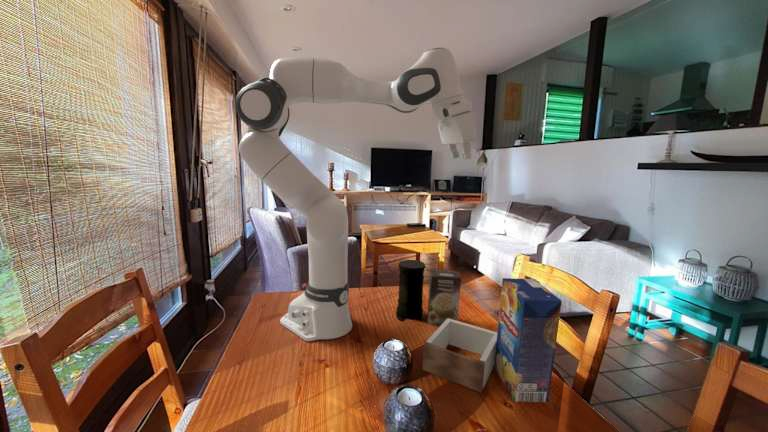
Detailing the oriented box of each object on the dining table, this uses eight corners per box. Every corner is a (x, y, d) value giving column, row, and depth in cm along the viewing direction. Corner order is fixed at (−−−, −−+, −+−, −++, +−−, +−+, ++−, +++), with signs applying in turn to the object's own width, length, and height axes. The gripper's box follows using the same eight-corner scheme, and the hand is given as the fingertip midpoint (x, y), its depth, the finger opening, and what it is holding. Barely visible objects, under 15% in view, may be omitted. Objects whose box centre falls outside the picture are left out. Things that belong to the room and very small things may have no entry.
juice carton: (547, 407, 70) (562, 301, 66) (512, 407, 70) (524, 300, 66) (523, 371, 82) (534, 278, 78) (493, 370, 82) (502, 278, 78)
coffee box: (427, 325, 103) (430, 275, 100) (427, 315, 109) (429, 268, 106) (457, 327, 102) (461, 277, 99) (455, 317, 108) (458, 270, 105)
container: (408, 307, 115) (410, 257, 111) (429, 317, 108) (432, 264, 105) (389, 315, 108) (391, 262, 105) (410, 326, 102) (413, 270, 99)
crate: (424, 371, 81) (426, 341, 79) (445, 344, 93) (447, 318, 91) (482, 394, 74) (485, 361, 72) (497, 362, 85) (500, 333, 84)
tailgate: (422, 369, 79) (423, 344, 78) (424, 367, 80) (425, 342, 79) (481, 392, 72) (483, 364, 71) (482, 389, 73) (484, 362, 72)
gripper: (429, 117, 103) (441, 160, 106) (450, 108, 83) (463, 162, 86) (449, 111, 103) (459, 154, 106) (474, 101, 83) (486, 155, 86)
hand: (461, 158), depth 96 cm, fingers open, 8 cm apart
